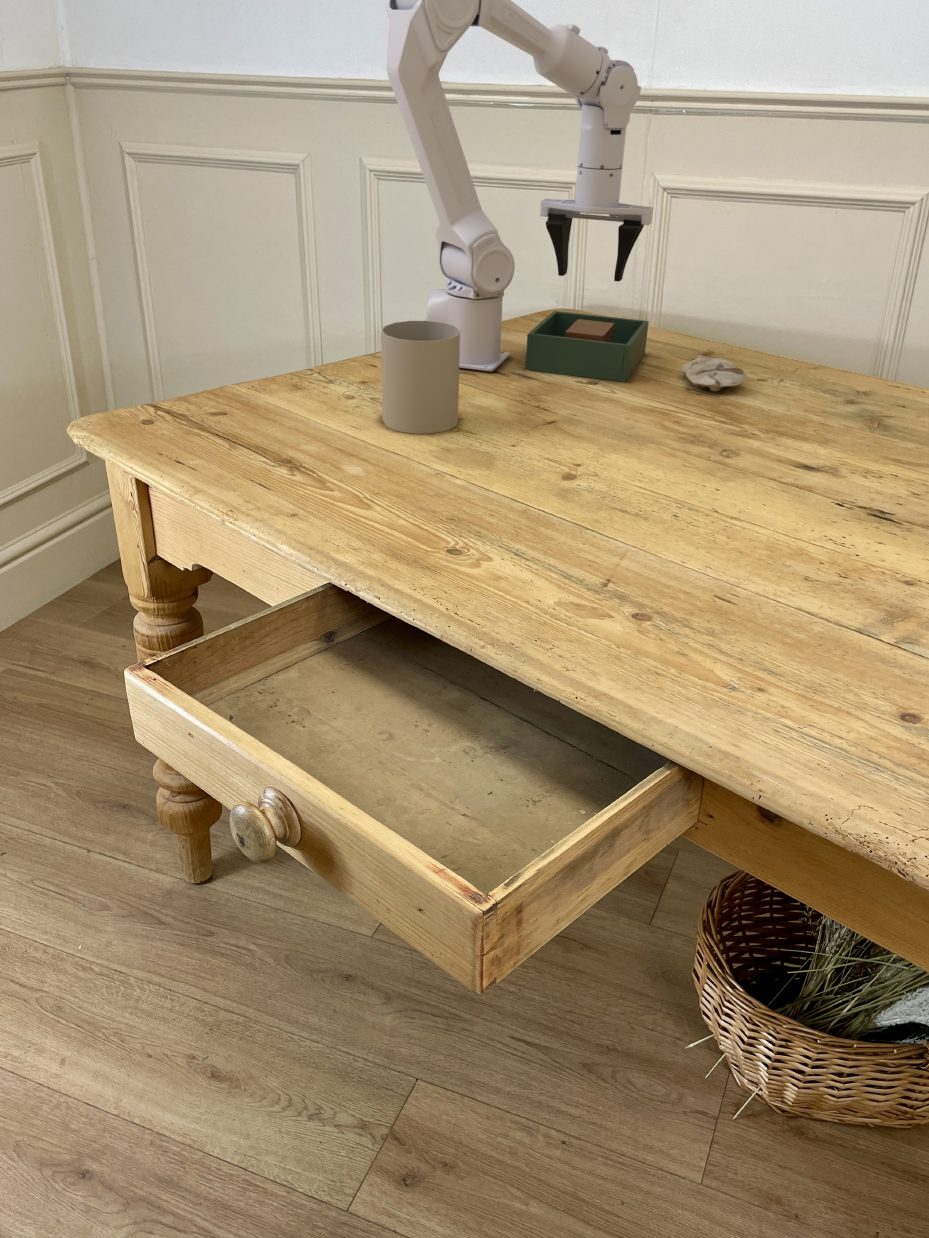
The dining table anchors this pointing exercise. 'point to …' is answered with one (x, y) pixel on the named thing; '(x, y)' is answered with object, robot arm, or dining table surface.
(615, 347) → the bin
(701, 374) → the stone
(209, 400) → the dining table surface
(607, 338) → the block
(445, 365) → the cup
